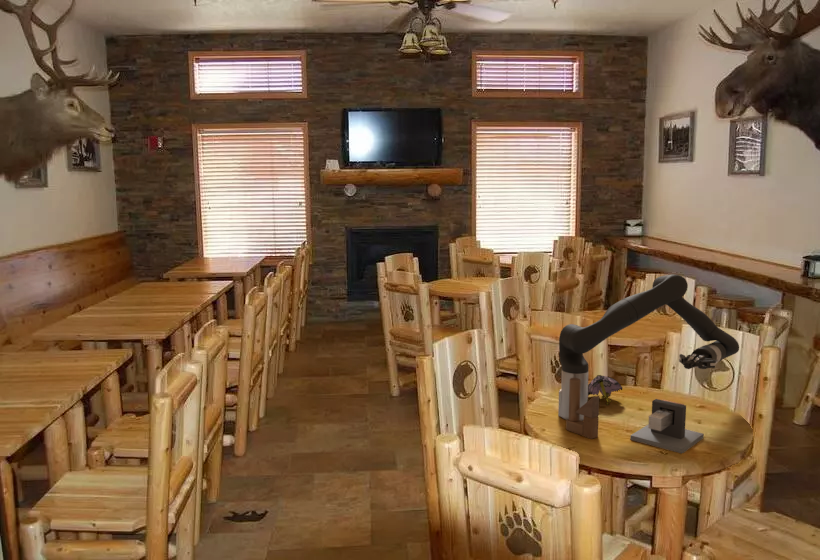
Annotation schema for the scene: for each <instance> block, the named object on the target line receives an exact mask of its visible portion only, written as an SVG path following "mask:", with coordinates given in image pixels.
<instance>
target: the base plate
mask: <svg viewBox="0 0 820 560" xmlns="http://www.w3.org/2000/svg"><path fill="white" fill-rule="evenodd" d="M629 437H630V440H631V441H634V442H638V443H641V444H645V445H650V446H653V447H656V448H659V449H664V450H666V451H667V450H668V451H672V452H675V453H679V454H682V453H683V454H685V452H687V451H688V450H689V449H690V448H692V447H693V446H695V445H696V444H697V443H699V442H700V441H702V440H703V439H704V437H705V436H704V433H703V432H699V431H696V430H695V431H694V430H691V429H686V428H685V437H684V438H682V439H678V438H674V437H670V436H666V435H663V434H659V433H655V432H651V429H650V428H648V424H646V425H644V427H642V428H640V429H638V430H637V431H636V432H633V433H632V434H630V436H629Z"/></svg>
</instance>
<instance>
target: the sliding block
mask: <svg viewBox="0 0 820 560" xmlns="http://www.w3.org/2000/svg"><path fill="white" fill-rule="evenodd" d="M662 400H663V401H668V402H673V403H677V404H682V405H685V403H680V402H676V401H671V400H667V399H662ZM674 415H675V410H670V409H666V408H661V409H660V410H658V411H656V412H655V413H653V414H652V413H651V414H650V415H648V424H647V425H648V428H650V429H654V430H658V431H662V430H663V429H665V428H666V427H668V426H670V425H671V424H673V423H674Z"/></svg>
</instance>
